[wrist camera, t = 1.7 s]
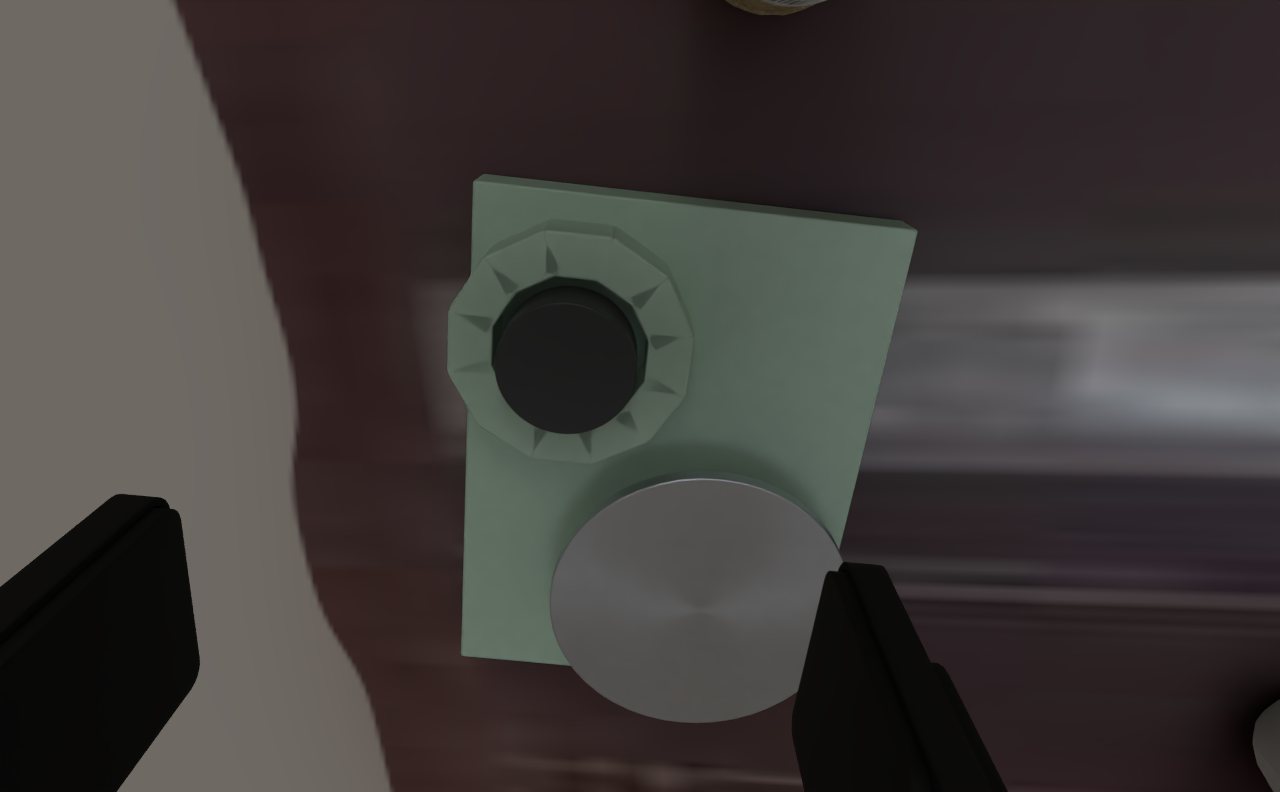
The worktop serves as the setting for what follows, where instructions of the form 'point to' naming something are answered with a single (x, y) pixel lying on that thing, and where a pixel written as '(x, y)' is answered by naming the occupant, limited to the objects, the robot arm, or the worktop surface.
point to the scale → (663, 369)
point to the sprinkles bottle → (773, 6)
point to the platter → (692, 595)
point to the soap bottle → (1268, 744)
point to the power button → (567, 360)
